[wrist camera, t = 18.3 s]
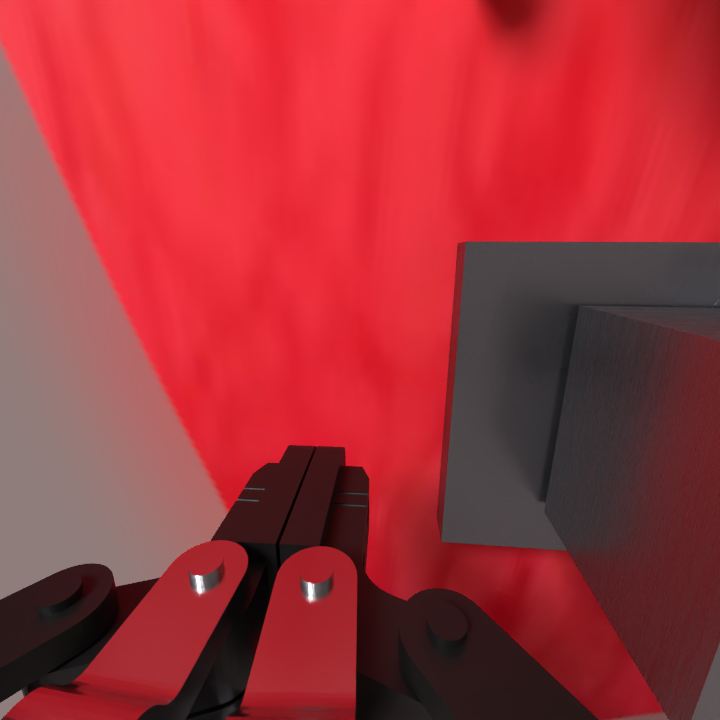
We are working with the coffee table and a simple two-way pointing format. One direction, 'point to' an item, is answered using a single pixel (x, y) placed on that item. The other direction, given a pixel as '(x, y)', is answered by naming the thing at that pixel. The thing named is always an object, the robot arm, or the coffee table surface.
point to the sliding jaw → (647, 490)
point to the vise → (535, 367)
